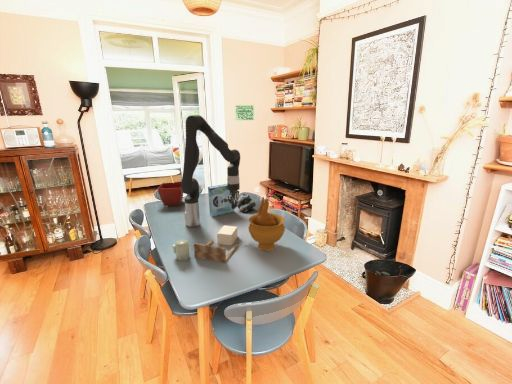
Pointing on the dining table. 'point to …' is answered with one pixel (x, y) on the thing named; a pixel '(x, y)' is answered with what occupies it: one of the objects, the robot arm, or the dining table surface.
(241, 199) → the dark grey rounded lump
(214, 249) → the display bay
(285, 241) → the dining table surface
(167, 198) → the plant pot
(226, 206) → the gum box
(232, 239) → the cream carton
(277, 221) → the mortar and pestle
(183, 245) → the sage mug
